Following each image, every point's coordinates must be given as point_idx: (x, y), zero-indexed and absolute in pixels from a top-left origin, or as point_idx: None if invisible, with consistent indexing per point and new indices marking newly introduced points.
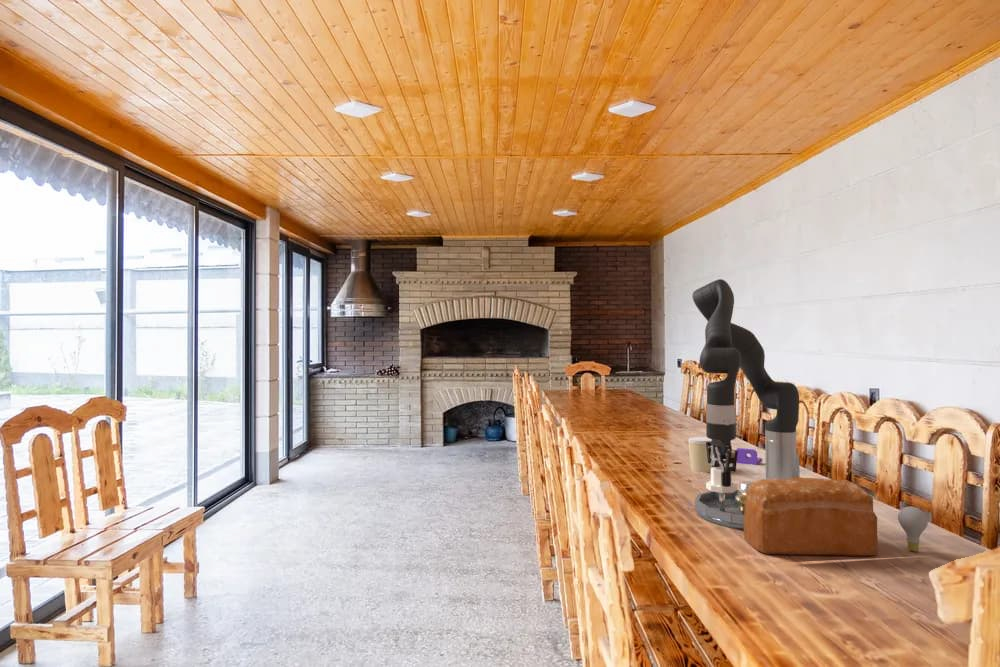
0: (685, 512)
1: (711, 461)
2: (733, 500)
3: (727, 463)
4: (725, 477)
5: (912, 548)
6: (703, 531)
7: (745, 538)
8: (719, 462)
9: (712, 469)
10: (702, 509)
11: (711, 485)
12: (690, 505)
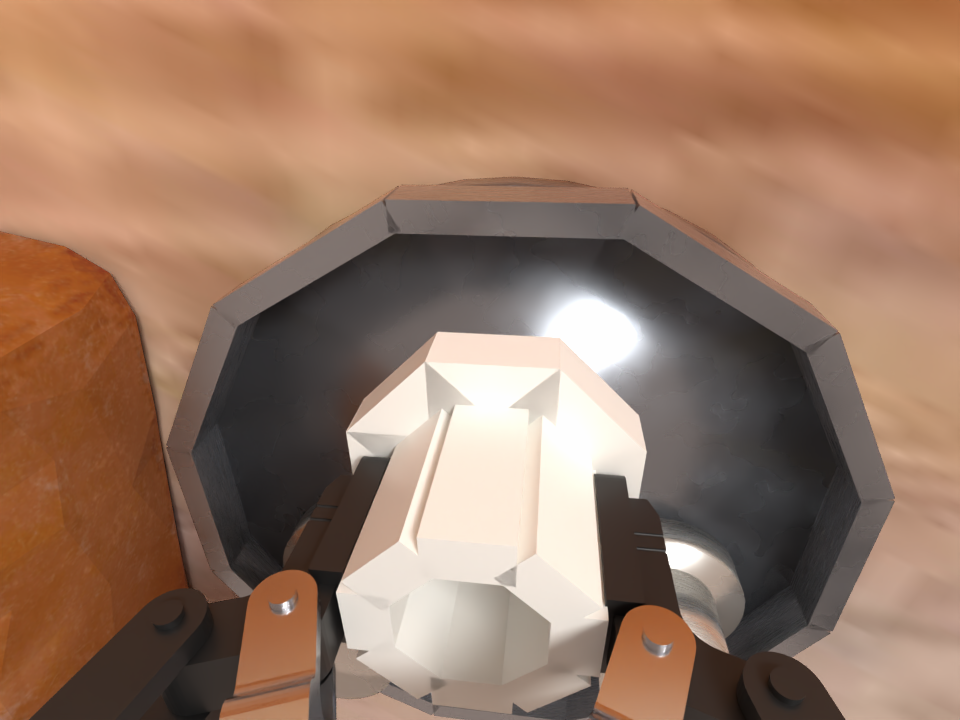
0: (668, 101)
1: (670, 694)
2: (727, 531)
3: (41, 716)
4: (303, 537)
5: None
6: (177, 34)
7: (42, 244)
8: (279, 695)
9: (455, 538)
10: (475, 192)
11: (421, 366)
12: (845, 238)
